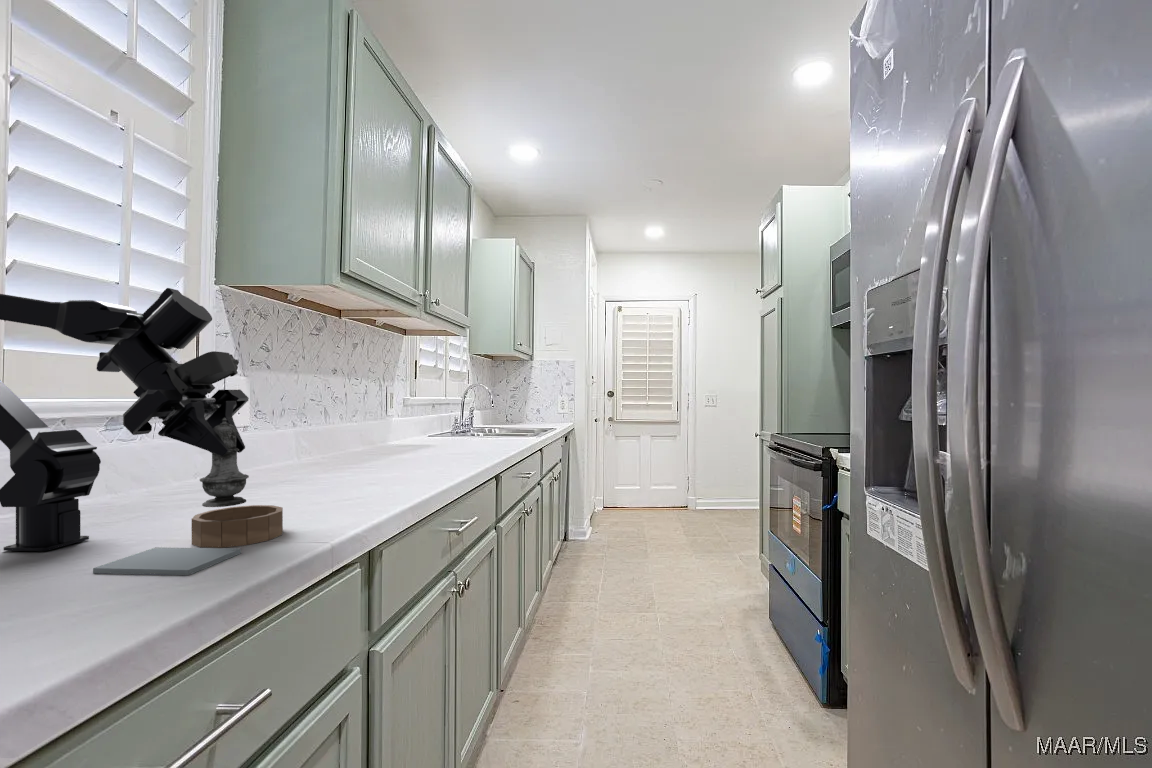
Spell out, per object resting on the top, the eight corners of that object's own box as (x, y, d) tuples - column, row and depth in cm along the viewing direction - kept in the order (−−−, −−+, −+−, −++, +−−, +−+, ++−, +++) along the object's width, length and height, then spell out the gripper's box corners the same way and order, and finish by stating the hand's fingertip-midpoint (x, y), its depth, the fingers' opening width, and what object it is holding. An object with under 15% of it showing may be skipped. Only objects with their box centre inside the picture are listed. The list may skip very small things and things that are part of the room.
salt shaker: (220, 509, 77) (220, 418, 77) (189, 505, 79) (188, 417, 79) (258, 500, 82) (258, 416, 82) (228, 497, 84) (228, 415, 84)
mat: (93, 573, 68) (93, 568, 68) (155, 551, 77) (155, 547, 77) (188, 575, 66) (188, 569, 66) (241, 553, 75) (240, 548, 75)
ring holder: (173, 546, 79) (172, 521, 79) (229, 527, 90) (229, 505, 90) (250, 548, 78) (250, 522, 78) (297, 528, 89) (297, 505, 89)
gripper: (147, 324, 71) (236, 413, 71) (236, 337, 90) (306, 408, 90) (82, 388, 71) (171, 477, 71) (185, 388, 90) (255, 459, 90)
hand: (234, 451), depth 80 cm, fingers closed on salt shaker, 4 cm apart
